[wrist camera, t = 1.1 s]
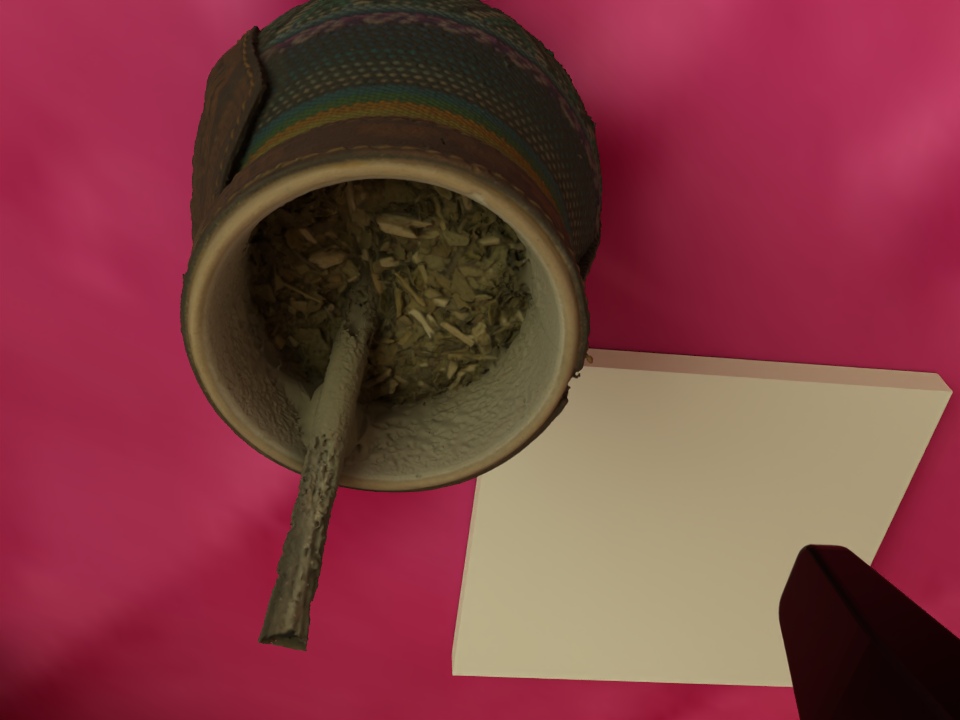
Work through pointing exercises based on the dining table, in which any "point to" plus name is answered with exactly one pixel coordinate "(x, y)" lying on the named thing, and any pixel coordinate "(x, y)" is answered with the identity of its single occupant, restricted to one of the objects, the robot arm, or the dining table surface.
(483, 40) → the mate gourd
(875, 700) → the robot arm
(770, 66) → the dining table surface
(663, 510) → the cream square tile
